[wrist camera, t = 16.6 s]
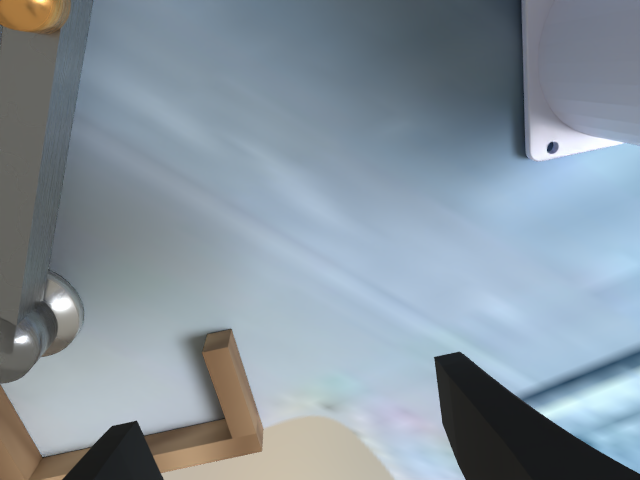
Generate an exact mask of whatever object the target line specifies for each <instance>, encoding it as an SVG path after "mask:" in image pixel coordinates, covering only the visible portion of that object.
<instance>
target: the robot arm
mask: <svg viewBox="0 0 640 480" xmlns="http://www.w3.org/2000/svg"><path fill="white" fill-rule="evenodd" d="M522 36H523V74H524V112H525V150H526V155H527V157H528V158H529V159H531V160H534V161H545V160H550V159H554V158H559V157H564V156H568V155H573V154H578V153H582V152H587V151H592V150H596V149H601V148H606V147H611V146H615V145H620V144H625V143H628V144H633V145H637V146H640V0H522ZM550 142H553V148H552V150H551V151H549V152H547V145H548V144H549V143H550ZM434 359H435V367H436V375H437V383H438V391H439V399H440V407H441V415H442V423H443V426H444V429H445V431H446V434H447V437H448V439H449V442H450V445H451V447H452V450H453V452H454V455H455V457H456V460H457V463H458V465H459V467H460V469H461V471H462V473H463V475H464V477H465V479H466V480H640V474H639V473H637V472H635V471H633V470H631V469H629V468H628V467H626V466H624V465H622V464H621V463H619V462H617V461H615V460H613V459H612V458H610V457H608V456H606V455H605V454H603V453H601V452H599V451H598V450H596V449H594V448H593V447H591V446H589V445H588V444H586V443H584V442H583V441H581V440H580V439H578V438H576V437H575V436H573V435H572V434H570V433H569V432H567V431H566V430H564V429H563V428H561V427H560V426H558V425H557V424H555V423H553V422H552V421H551V420H549V419H548V418H546V417H545V416H543V415H542V414H540V413H539V412H538V411H536V410H535V409H533V408H532V407H531V406H529V405H528V404H527V403H525V402H524V401H522V400H521V399H520V398H518V397H517V396H516V395H514V394H513V393H511V392H510V391H509V390H508V389H506V388H505V387H504V386H502V385H501V384H500V383H499V382H497V381H496V380H495V379H493V378H492V377H491V376H490V375H488V374H487V373H486V372H485V371H483V370H482V369H481V368H480V367H478V366H477V365H476V364H475V363H474V362H472V361H471V360H470V359H469V358H468V357H466V356H465V355H464V354H462V353H461V352H456V353H451V354H446V355H442V356H437V357H434ZM62 480H163V477H162V475H161V473H160V471H159V468H158V466H157V464H156V462H155V459H154V457H153V455H152V453H151V451H150V448H149V446H148V444H147V442H146V440H145V437H144V435H143V433H142V431H141V429H140V426H139V424H138V422H137V421H134V422H129V423H125V424H120V425H115V426H112V427H111V428H110V429H109V430H108V431H107V432H106V433H105V434H104V435H103V436H102V437H101V438H100V439H99V440H98V441H97V442H96V443H95V444H94V445H93V446H92V447H91V448H90V450H89V451H88V452H87V453H86V454H85V455H84V456H83V457H82V458H81V459H80V460H79V462H78V463H77V464H76V465H75V466H74V467H73V468H72V469H71V470H70V471H69V473H68V474H67V475H66V476H65V477H64V478H63V479H62Z"/></svg>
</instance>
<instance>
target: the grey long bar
mask: <svg viewBox="0 0 640 480" xmlns="http://www.w3.org/2000/svg"><path fill="white" fill-rule="evenodd" d="M92 5H93V0H0V25H2V26H3V30H2V39H1V48H0V383H9V382H13V381H15V380H18V379H19V378H21V377H23V376H24V375H25V374H26V373H27V372H28V371H29V370H30V369H31V368H32V367H33V365H34V364H35V363H36V362H37V361H38V359H39V358H40V357H41V356H42V355H43V354H44V352H45V351H46V350H47V349H48V348H49V347H50V345H51V344H52V343H53V342H54V340H55V338H56V336H57V333H58V323H57V319H56V316H55V314H54V312H53V311H52V310H51V308H50V307H49V306H48V305H47V304H46V303H45V302H44V301H43V297H44V291H45V285H46V279H47V273H48V267H49V261H50V255H51V249H52V244H53V238H54V232H55V226H56V220H57V214H58V208H59V202H60V196H61V190H62V184H63V178H64V172H65V166H66V160H67V154H68V148H69V142H70V136H71V130H72V124H73V118H74V112H75V106H76V100H77V95H78V89H79V83H80V77H81V71H82V65H83V59H84V53H85V47H86V41H87V35H88V29H89V23H90V17H91V11H92Z"/></svg>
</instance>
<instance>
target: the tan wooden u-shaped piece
mask: <svg viewBox="0 0 640 480" xmlns="http://www.w3.org/2000/svg"><path fill="white" fill-rule="evenodd" d="M202 354H203V357H204V360H205V363H206V366H207V368H208V371H209V374H210V377H211V380H212V382H213V385H214V388H215V391H216V394H217V396H218V399H219V402H220V405H221V408H222V410H223V413H224V416H225V419H222V420H217V421H213V422H208V423H203V424H199V425H194V426H189V427H185V428H180V429H175V430H171V431H166V432H161V433H157V434H152V435H147V436H144V437H145V440H146V442H147V444H148V446H149V448H150V451H151V453H152V455H153V457H154V459H155V462H156V464H157V466H158V468H159V471H160V473H163V472H168V471H173V470H177V469H182V468H187V467H191V466H196V465H201V464H205V463H210V462H215V461H219V460H224V459H228V458H233V457H238V456H243V455H247V454H252V453H257V452H261V451H262V443H263V426H262V423H261V420H260V417H259V414H258V411H257V408H256V404H255V401H254V398H253V395H252V392H251V389H250V386H249V383H248V379H247V376H246V373H245V370H244V367H243V364H242V361H241V357H240V354H239V351H238V348H237V345H236V342H235V339H234V336H233V332H232V329H230V330H225V331H221V332H216V333H211V334H207V337H206V340H205V344H204V347H203V351H202ZM89 450H90V448H87V449H82V450H77V451H73V452H68V453H63V454H59V455H54V456H49V457H45V458H42V456H41V454H40V453H39V451H38V449H37V447H36V446H35V444H34V442H33V440H32V439H31V437H30V435H29V433H28V432H27V430H26V428H25V427H24V425H23V423H22V421H21V420H20V418H19V416H18V414H17V413H16V411H15V409H14V408H13V406H12V404H11V402H10V401H9V399H8V397H7V395H6V394H5V392H4V390H3V388H2V387H1V385H0V480H62V479H63V478H64V477H65V476H66V475H67V474H68V473H69V471H70V470H71V469H72V468H73V467H74V466H75V465H76V464H77V463H78V462H79V460H80V459H81V458H82V457H83V456H84V455H85V454H86V453H87V452H88V451H89Z"/></svg>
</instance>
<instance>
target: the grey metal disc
mask: <svg viewBox="0 0 640 480" xmlns="http://www.w3.org/2000/svg"><path fill="white" fill-rule="evenodd" d="M43 301H44V302H45V303H46V304H47V305H48V306H49V307H50V308H51V310H52V311H53V312H54V314H55V316H56V319H57V323H58V333H57V336H56V338H55V340H54V342H53V343H52V344H51V345H50V347H49V348H48V349H47V350H46V351H45V352H44V354H43V355H42V356H41V357H44V356H49V355H53V354H55V353H58V352H60V351H61V350H63V349H64V348H66V347H67V346H68V345H69V344H70V343H71V342H72V340H73V339H74V338H75V337H76V335H77V334H78V333H79V331H80V329H81V327H82V324H83V321H84V309H83V304H82V302H81V299H80V297H79V295H78V294H77V292H76V291H75V289H74V288H73V287H72V286H71V285H70V284H69V283H68V282H67V281H66V280H65V279H63V278H62V277H61V276H59V275H57V274H56V273H54V272H52V271H49V270H48V273H47V279H46V285H45V291H44V297H43Z"/></svg>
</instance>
